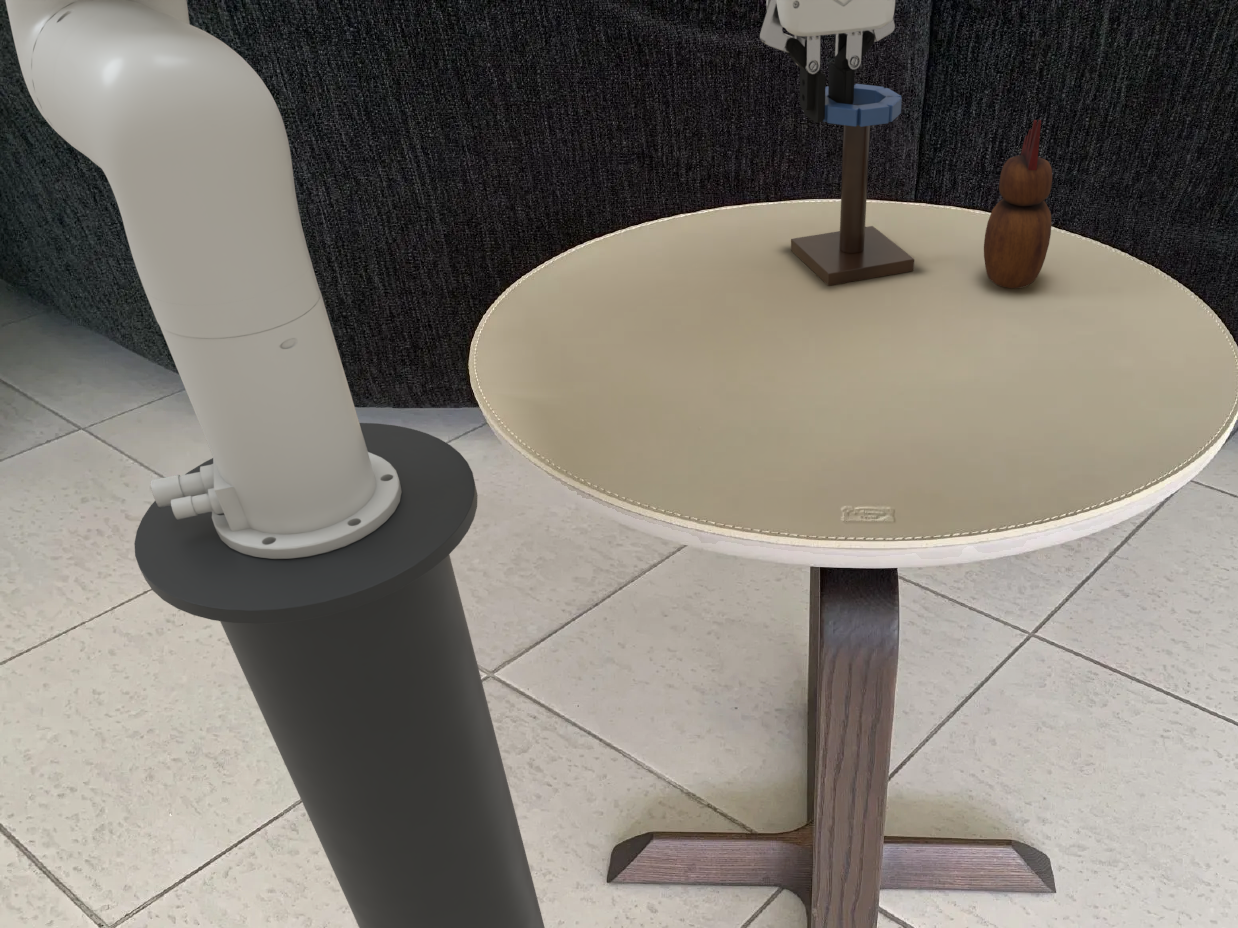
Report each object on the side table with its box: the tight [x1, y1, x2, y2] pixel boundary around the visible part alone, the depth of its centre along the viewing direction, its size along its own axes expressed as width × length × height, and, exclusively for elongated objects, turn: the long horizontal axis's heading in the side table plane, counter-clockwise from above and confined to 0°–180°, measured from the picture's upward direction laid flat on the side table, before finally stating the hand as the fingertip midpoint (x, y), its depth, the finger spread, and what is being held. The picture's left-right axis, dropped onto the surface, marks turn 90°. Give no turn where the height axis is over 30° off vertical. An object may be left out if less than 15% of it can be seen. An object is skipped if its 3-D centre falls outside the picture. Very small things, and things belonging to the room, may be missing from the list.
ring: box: [822, 83, 903, 127], centre depth 95 cm, size 8×8×1 cm
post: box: [790, 125, 915, 287], centre depth 100 cm, size 9×9×13 cm
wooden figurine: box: [983, 119, 1053, 289], centre depth 96 cm, size 7×6×15 cm
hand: (826, 115), depth 95 cm, fingers closed on ring, 1 cm apart
